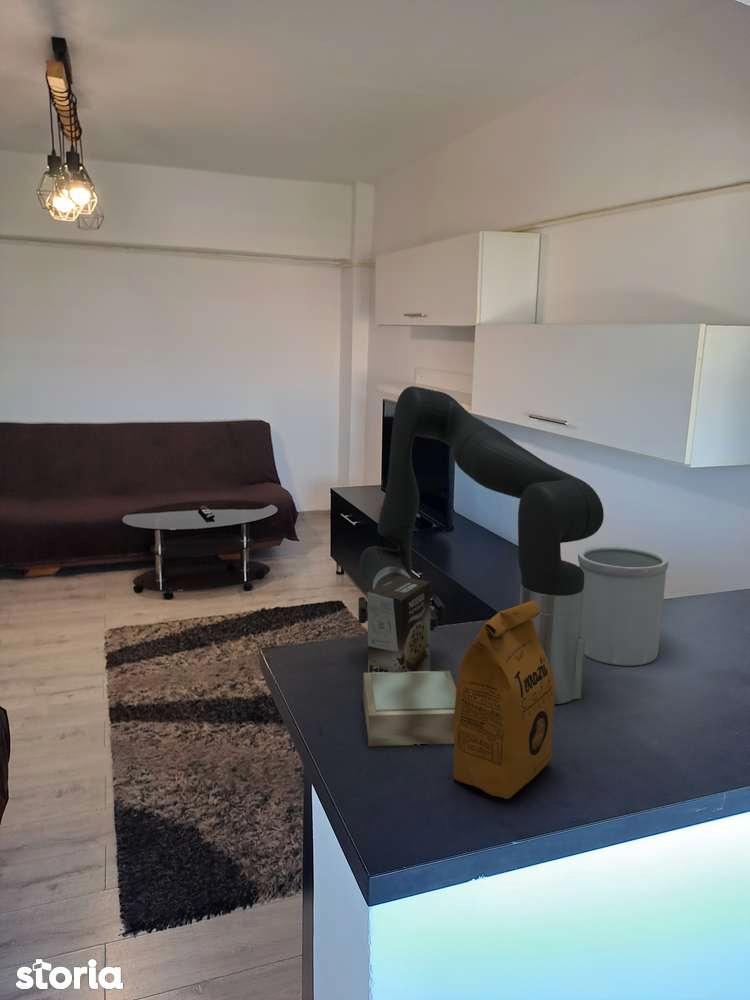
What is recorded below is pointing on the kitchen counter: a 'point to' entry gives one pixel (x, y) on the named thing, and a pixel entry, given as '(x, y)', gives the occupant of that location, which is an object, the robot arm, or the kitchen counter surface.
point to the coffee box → (399, 626)
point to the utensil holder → (622, 603)
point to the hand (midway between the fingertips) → (405, 625)
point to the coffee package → (504, 705)
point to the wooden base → (409, 707)
